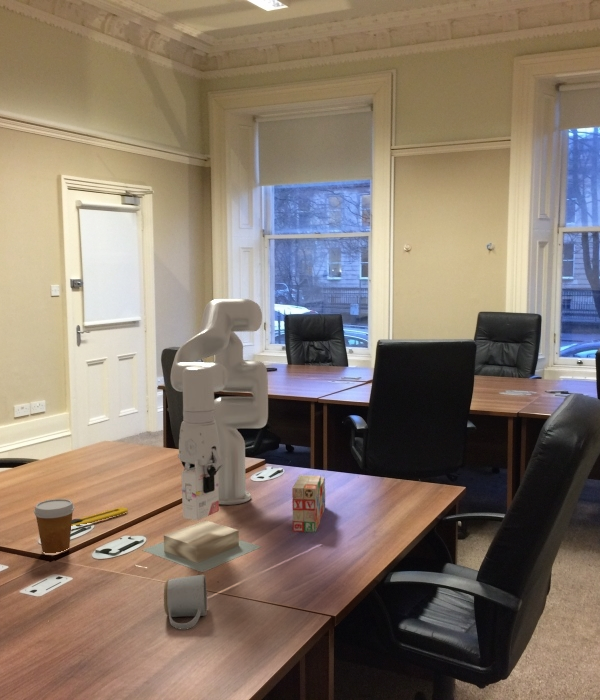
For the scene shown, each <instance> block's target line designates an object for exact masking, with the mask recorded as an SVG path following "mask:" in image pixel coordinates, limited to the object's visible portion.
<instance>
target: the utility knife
mask: <svg viewBox="0 0 600 700" xmlns="http://www.w3.org/2000/svg"><path fill="white" fill-rule="evenodd" d="M125 512H127V513H128V507H122V506H120V507H116V508H113V509H112V508H111V509H107V510H105V511H103V512H98V513H95V514H91V515H88V516H84V517H83V516H82V517H80V518H72V525H71V526H73V525H80V524H87V523H92V522H95V521H98V520H102V519H106V518H109V517H113V516H117V515H120V514H123V513H125Z"/></svg>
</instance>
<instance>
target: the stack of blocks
mask: <svg viewBox="0 0 600 700" xmlns="http://www.w3.org/2000/svg"><path fill="white" fill-rule="evenodd" d="M325 483H326V479H325V477H324V476H321V475H314V474H313V475H307V474H306V475H305V474H299V476H298V477H297V479H296V481H295V482H294V484H293V486H292V490H291V492H292V501H291V502H292V506H291V507H292V532H296V533H298V532H299V533H316V532H317V529H318V528H319V525H320V523H321V520H322V516H323V514H324V512H325V508H326V486H325V485H326V484H325Z"/></svg>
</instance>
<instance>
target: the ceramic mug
mask: <svg viewBox="0 0 600 700" xmlns="http://www.w3.org/2000/svg"><path fill="white" fill-rule="evenodd" d="M206 579H207V578H206V575H205V574H198V575H192V576H184V577H173V578H171V579H167V580H166V581H165V583H164V586H163V606H164V607H163V609H164V613H165V615H167V616H168V618H169V623H170V625H171V626H172V627H173V628H174V627H175V629H177V628H181V629H180V630H188V629H187V628H189V629H192V628H193V627H194V626H195V625H197V623H198V621H199V620H200V617H205V616H207V613H208V612H207V611H208V595H207V594H208V592H207V590H208V589H207V581H206ZM173 617H174V618H176V617H178V618H179V617H193V618H192V619H191V620H189V621H188V622H185V623H183V622H182V623H179V622H176V621H175V620H173Z"/></svg>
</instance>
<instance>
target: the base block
mask: <svg viewBox="0 0 600 700" xmlns="http://www.w3.org/2000/svg"><path fill="white" fill-rule="evenodd" d="M239 533H240V530H239V529H236V528H232V527H229V526H227V525H222V524H220V523H216V522H213V521H209V520H207V519H206V520H202V521H200V522H196V523H195V524H191V525H188V526H185V527H182V528H180V529H177V530H174V531H172V532H168V533H166V534H163V542H164V551H165V552H168V553H171V554H174V555H177V556H179V557H182V558H185V559H188V560H191V561H193V562H196V563H198V562H201V561H203V560H206V559H208V558H210V557H213V556H215V555H218V554H220V553H222V552H225V551H227V550H230V549H232V548H234V547H237V546H239V540H240V537H239V536H240V534H239Z"/></svg>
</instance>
